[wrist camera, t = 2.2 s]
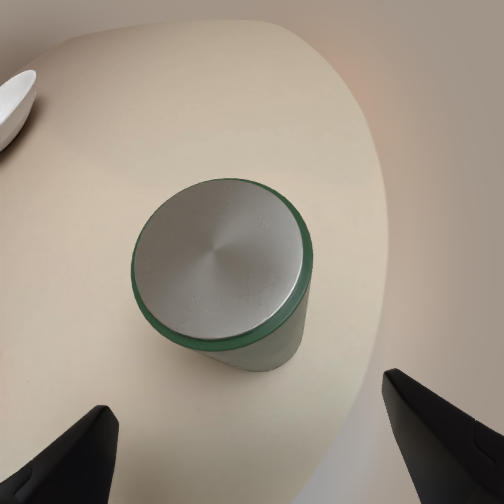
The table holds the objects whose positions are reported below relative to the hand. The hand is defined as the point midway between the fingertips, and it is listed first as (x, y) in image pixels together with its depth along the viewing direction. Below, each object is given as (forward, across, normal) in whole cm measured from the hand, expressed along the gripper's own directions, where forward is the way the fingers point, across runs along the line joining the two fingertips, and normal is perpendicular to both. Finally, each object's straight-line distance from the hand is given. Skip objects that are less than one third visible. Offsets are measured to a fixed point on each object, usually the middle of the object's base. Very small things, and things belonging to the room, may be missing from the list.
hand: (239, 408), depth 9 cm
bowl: (+36, +37, -19) cm, 55 cm away
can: (+11, 0, +5) cm, 12 cm away
